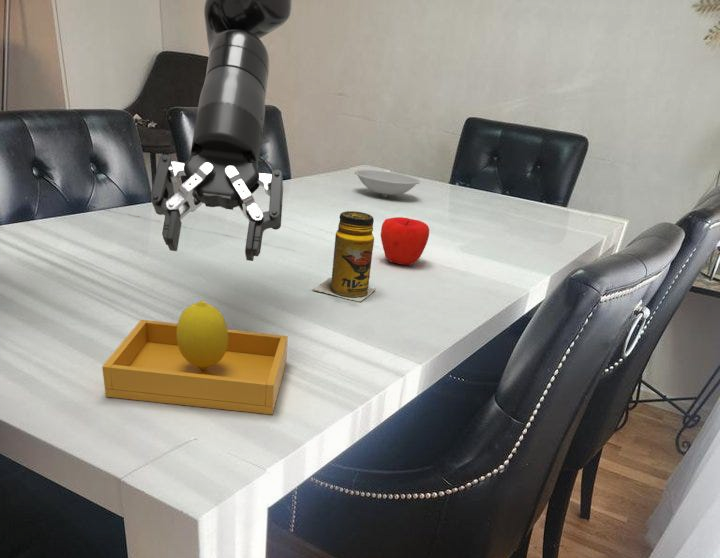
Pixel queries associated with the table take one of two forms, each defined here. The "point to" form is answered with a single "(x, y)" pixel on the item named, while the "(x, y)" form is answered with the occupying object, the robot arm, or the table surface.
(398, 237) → the apple
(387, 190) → the dish
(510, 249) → the table surface
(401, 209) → the table surface
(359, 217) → the condiment
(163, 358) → the yellow tray
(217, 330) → the lemon
